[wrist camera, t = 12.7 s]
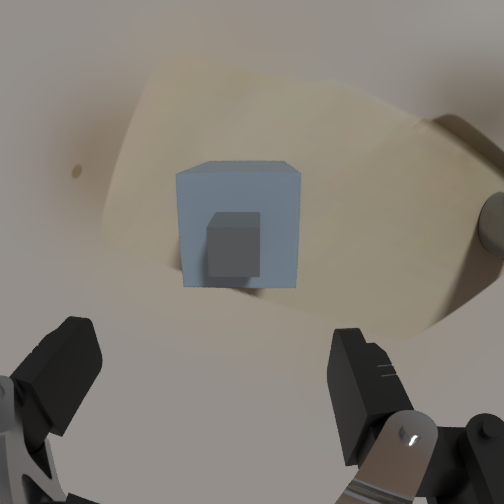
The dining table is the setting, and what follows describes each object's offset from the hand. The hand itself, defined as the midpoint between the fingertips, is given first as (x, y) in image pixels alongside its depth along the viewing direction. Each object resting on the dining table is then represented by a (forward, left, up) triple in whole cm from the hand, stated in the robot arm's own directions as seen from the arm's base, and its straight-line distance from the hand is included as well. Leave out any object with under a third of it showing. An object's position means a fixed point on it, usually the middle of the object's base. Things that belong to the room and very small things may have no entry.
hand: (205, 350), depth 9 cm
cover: (0, 0, -27) cm, 27 cm away
